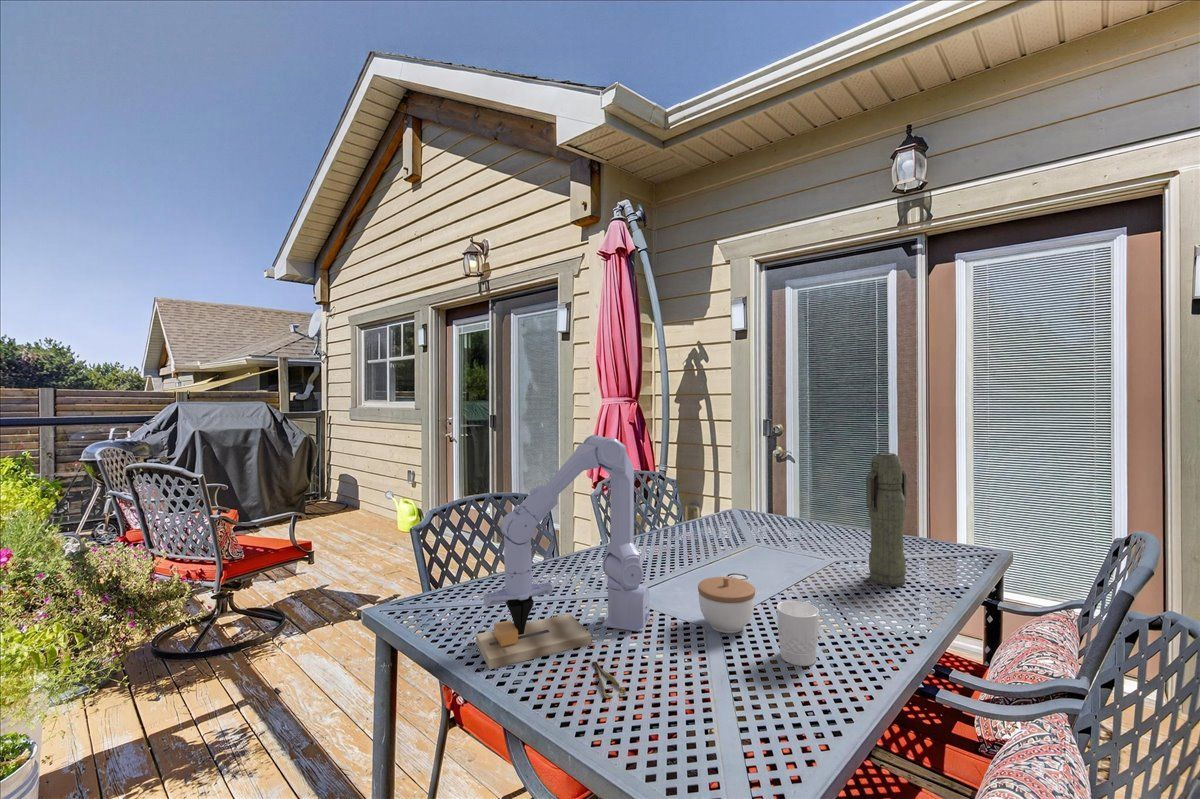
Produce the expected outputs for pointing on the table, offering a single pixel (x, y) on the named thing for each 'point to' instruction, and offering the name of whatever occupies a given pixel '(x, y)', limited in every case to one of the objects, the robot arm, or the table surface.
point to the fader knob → (506, 633)
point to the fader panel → (534, 641)
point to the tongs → (609, 679)
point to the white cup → (798, 632)
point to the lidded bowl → (726, 603)
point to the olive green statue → (886, 519)
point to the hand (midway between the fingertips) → (519, 632)
